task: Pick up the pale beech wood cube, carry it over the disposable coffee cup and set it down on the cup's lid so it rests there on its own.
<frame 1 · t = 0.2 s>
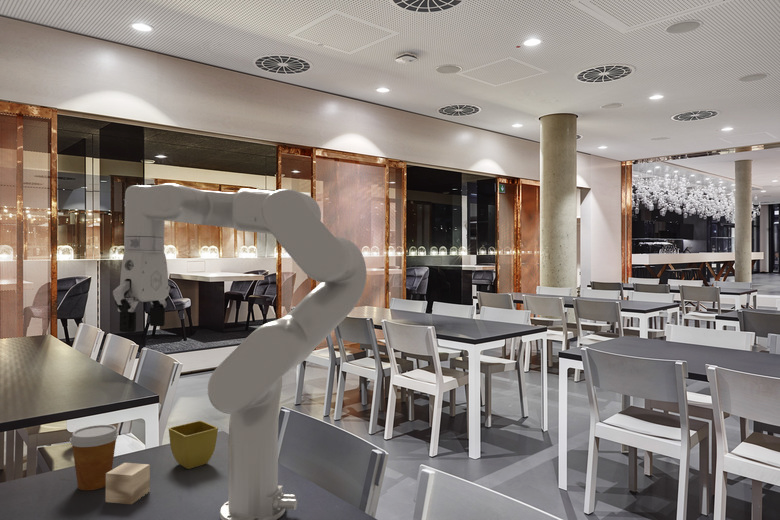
hand: (143, 328, 110), 36 cm above the table, tool pointing down, fingers open, 9 cm apart
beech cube: (128, 497, 113), on the table
disposable coffee cup: (94, 485, 119), on the table
flower pot: (193, 465, 131), on the table
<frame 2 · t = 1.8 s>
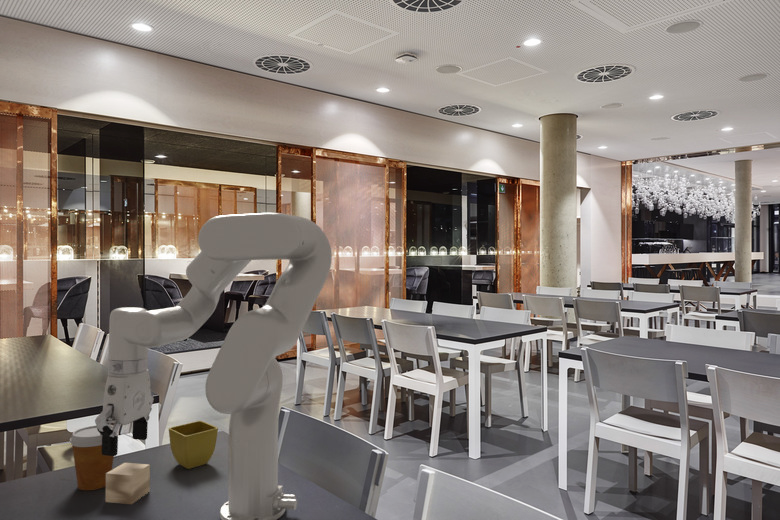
hand: (125, 446, 113), 10 cm above the table, tool pointing down, fingers open, 9 cm apart
nothing on the table moved.
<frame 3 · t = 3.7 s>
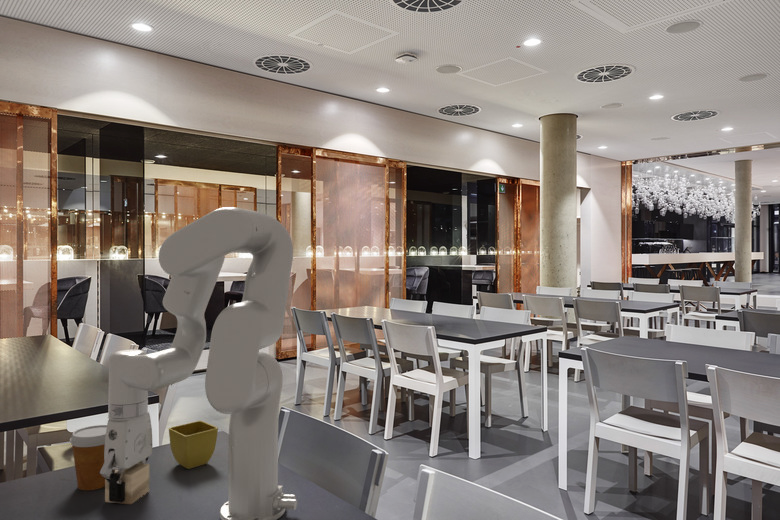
hand: (127, 493, 113), 1 cm above the table, tool pointing down, fingers closed on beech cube, 6 cm apart
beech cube: (127, 496, 113), on the table, touching gripper
everything else where it was.
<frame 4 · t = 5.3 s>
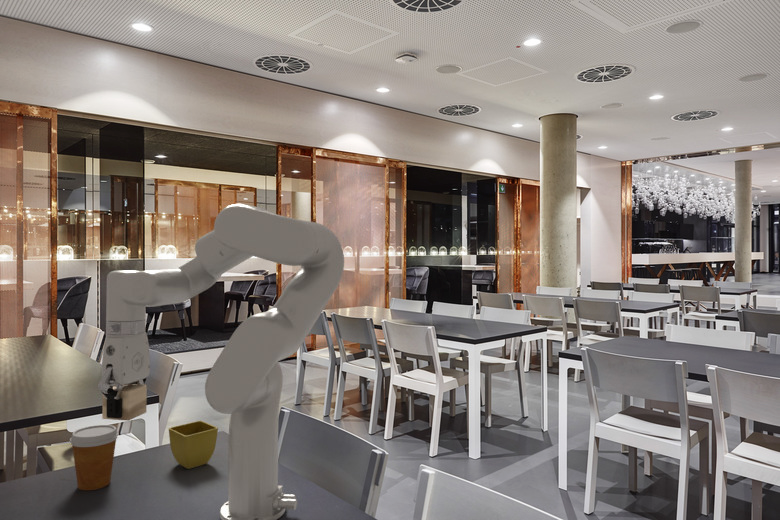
hand: (124, 412, 114), 18 cm above the table, tool pointing down, fingers closed on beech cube, 6 cm apart
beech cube: (124, 415, 114), point 17 cm above the table, touching gripper
everything else where it was.
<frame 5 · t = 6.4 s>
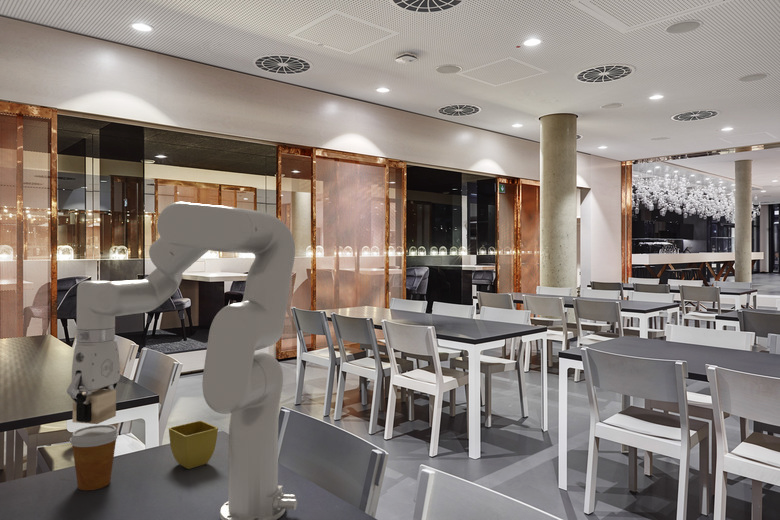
hand: (94, 416, 119), 15 cm above the table, tool pointing down, fingers closed on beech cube, 6 cm apart
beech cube: (94, 419, 119), point 15 cm above the table, touching gripper
everything else where it was.
when the fingers open (14 cm above the table, at t = 7.4 s): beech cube drops 1 cm, resting on disposable coffee cup.
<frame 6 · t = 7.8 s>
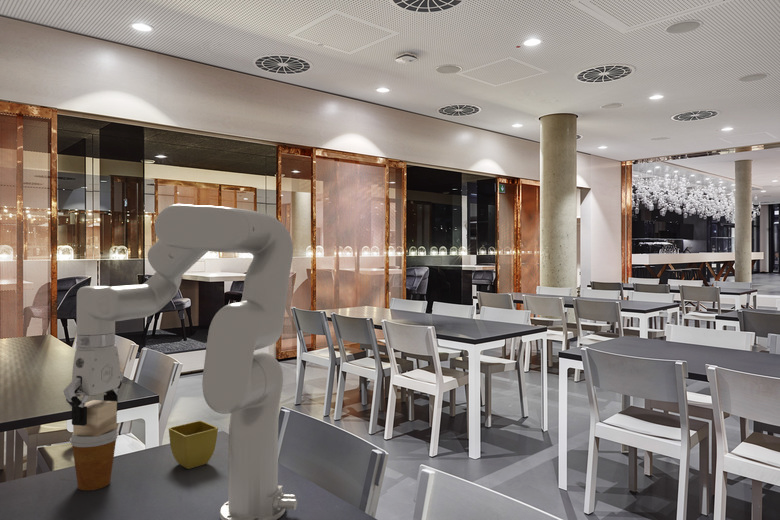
hand: (95, 418, 119), 15 cm above the table, tool pointing down, fingers open, 9 cm apart
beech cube: (95, 431, 119), point 12 cm above the table, touching disposable coffee cup
disposable coffee cup: (94, 485, 119), on the table, touching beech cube
everything else where it was.
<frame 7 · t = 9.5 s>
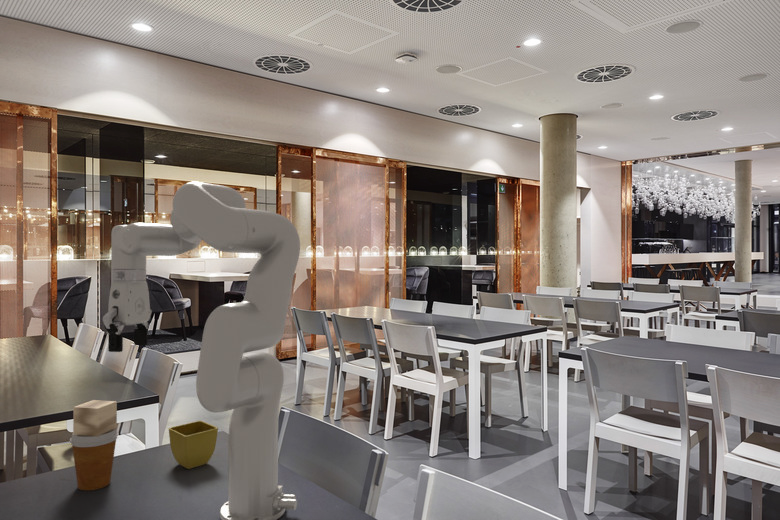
hand: (128, 348, 128), 29 cm above the table, tool pointing down, fingers open, 9 cm apart
nothing on the table moved.
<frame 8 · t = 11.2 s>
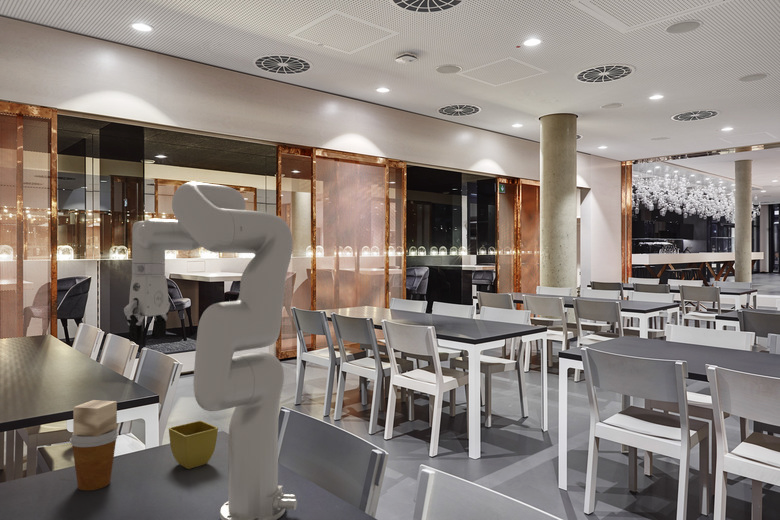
hand: (148, 338, 134), 30 cm above the table, tool pointing down, fingers open, 9 cm apart
nothing on the table moved.
at the end: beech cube inside the target area on the disposable coffee cup (0.3 cm from its centre), point 12.2 cm above the disposable coffee cup's base; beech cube touching disposable coffee cup; disposable coffee cup tilted 0° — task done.
